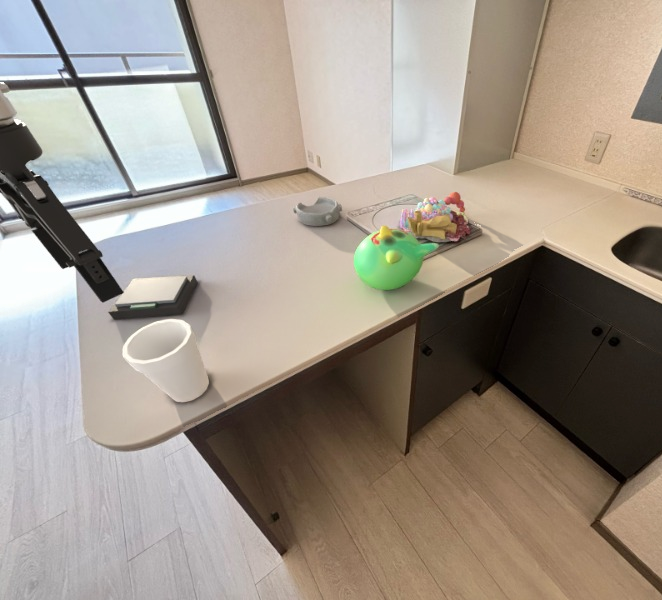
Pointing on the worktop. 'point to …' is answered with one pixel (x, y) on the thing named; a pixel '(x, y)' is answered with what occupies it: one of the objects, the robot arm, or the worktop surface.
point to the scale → (154, 297)
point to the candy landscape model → (437, 220)
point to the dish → (319, 212)
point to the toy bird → (390, 258)
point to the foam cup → (168, 358)
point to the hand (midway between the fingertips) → (91, 279)
